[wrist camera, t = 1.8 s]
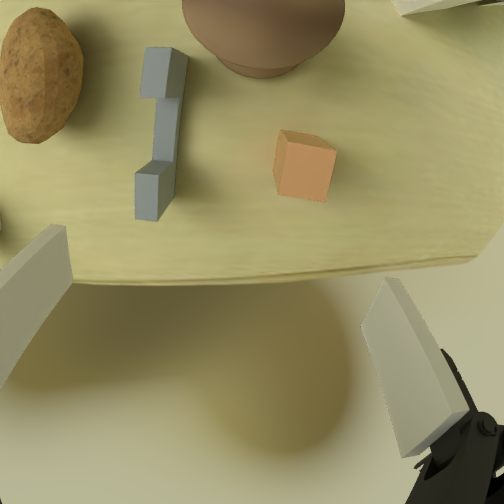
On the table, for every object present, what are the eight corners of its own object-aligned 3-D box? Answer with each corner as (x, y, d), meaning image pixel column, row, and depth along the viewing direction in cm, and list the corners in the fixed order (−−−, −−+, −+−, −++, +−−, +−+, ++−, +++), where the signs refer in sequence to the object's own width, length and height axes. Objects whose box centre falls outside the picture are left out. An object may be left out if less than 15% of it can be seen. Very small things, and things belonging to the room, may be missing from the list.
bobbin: (218, -14, 19) (197, -65, 9) (317, 1, 20) (352, -44, 10) (202, 72, 23) (170, 60, 14) (302, 86, 24) (332, 82, 14)
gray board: (167, 55, 22) (145, 47, 17) (188, 55, 23) (171, 47, 17) (155, 195, 29) (134, 219, 24) (174, 197, 29) (157, 221, 24)
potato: (96, -1, 18) (53, -19, 12) (106, 122, 25) (62, 136, 18) (26, 32, 19) (-21, 30, 12) (37, 143, 26) (-10, 163, 19)
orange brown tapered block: (280, 129, 26) (288, 141, 20) (318, 137, 26) (337, 151, 20) (272, 170, 28) (278, 194, 22) (309, 176, 28) (325, 202, 22)
